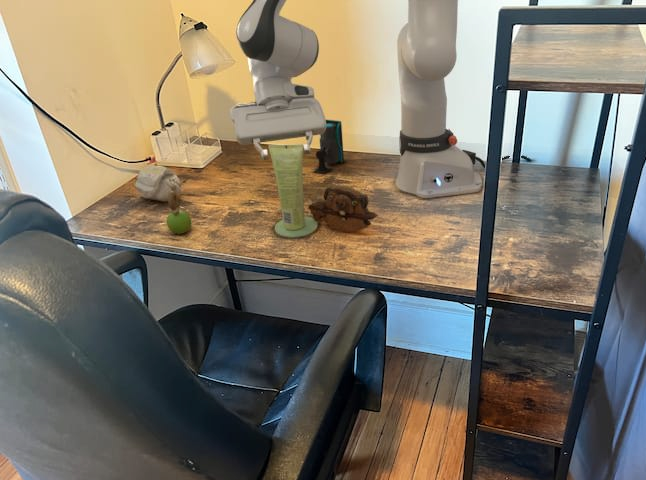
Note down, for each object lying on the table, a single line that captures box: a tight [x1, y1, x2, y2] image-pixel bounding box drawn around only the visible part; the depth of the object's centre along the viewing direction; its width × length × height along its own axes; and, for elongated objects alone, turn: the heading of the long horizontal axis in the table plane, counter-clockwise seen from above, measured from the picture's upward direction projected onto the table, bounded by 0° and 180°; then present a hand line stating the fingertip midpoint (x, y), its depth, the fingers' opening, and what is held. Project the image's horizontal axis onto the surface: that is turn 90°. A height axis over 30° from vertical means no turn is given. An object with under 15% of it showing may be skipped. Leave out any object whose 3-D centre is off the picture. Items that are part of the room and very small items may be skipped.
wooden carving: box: [307, 185, 379, 233], centre depth 119 cm, size 16×5×10 cm, turn 70°
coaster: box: [274, 215, 319, 239], centre depth 124 cm, size 10×10×1 cm
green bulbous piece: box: [166, 179, 192, 235], centre depth 122 cm, size 5×6×12 cm
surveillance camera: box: [313, 119, 345, 175], centre depth 151 cm, size 6×12×10 cm
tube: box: [267, 143, 306, 230], centre depth 119 cm, size 6×5×20 cm
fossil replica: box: [134, 163, 182, 203], centre depth 140 cm, size 12×8×10 cm
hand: (286, 155), depth 118 cm, fingers open, 8 cm apart
